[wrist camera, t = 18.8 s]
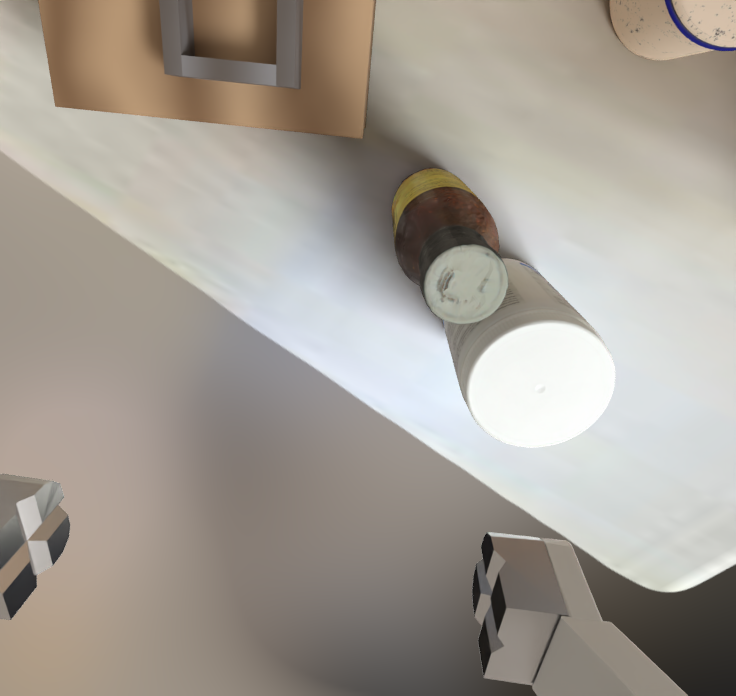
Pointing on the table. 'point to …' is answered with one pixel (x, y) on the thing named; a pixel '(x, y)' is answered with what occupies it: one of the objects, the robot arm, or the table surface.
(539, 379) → the supplement tub
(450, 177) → the sauce bottle
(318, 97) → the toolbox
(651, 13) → the teacup with lid
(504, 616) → the robot arm
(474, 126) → the table surface
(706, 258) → the table surface
